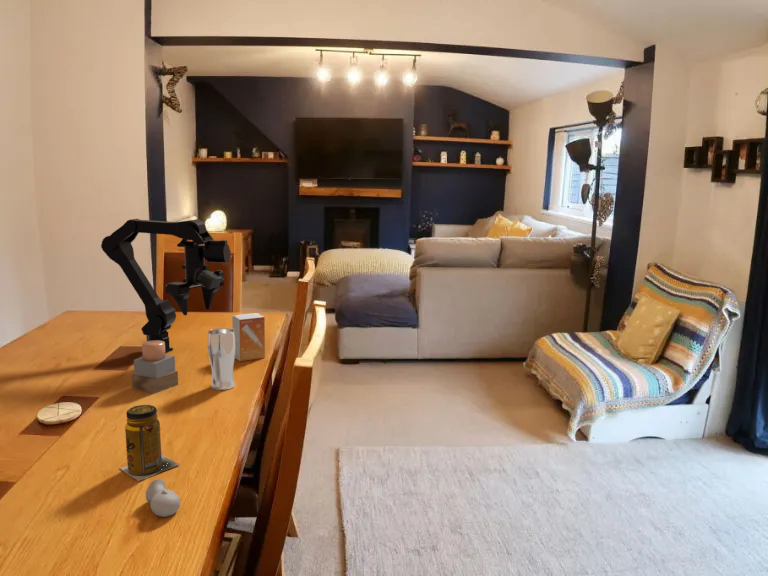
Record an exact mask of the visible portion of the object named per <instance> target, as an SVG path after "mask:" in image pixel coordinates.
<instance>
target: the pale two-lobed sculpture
mask: <svg viewBox="0 0 768 576" xmlns="http://www.w3.org/2000/svg"><path fill="white" fill-rule="evenodd" d="M145 499H146V500H145V501H146V502H148V503H149V505H150V506H149V507H150V510H151V511H152V513H153V514H154V515H156V516H158V517H162V518H166V517H169V516H170V517H171V516H172V515H174V514H175V513H176V512H177V511H178V510H179V509H180V506H181V499H180V496H179V495H178V494H177V493H176V492H175V491H173V490H172V489H168V488H166V483H165V481H164V480H163V479H161V478H156V479H153V480H152V481H151V482H150V483H149V485H148V487H147V489H146V491H145Z"/></svg>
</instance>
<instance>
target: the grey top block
mask: <svg viewBox="0 0 768 576" xmlns="http://www.w3.org/2000/svg"><path fill="white" fill-rule="evenodd" d="M165 356H166V358H165V359H163V360H160V361H144V360H143V356H140V357H139V358H136V359H133V369H134V370H133V371H134V372H133V373H135V375H138V376H144V377H149V378H155V379H157V378H159V377H162V376H164V375H166V374H168V373H171V372H173V371H176V360H175V355H171V354H165Z"/></svg>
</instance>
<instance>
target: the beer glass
mask: <svg viewBox="0 0 768 576" xmlns="http://www.w3.org/2000/svg"><path fill="white" fill-rule="evenodd" d="M207 333H208V334H207V353H208V359H209V363H210V364H209V365H210V368H211V382H210V388H211V389H212V390H215V391H227V390H230V389H233V388H235V386H236V383H235V382H236V381H235V378H234V365H235V360H236V358H235V352H236V344H235V334H234V330H233V328H230V327H229V328H228V327H220V328H219V327H218V328H212V329H209V331H208V332H207Z"/></svg>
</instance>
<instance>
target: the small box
mask: <svg viewBox="0 0 768 576" xmlns="http://www.w3.org/2000/svg"><path fill="white" fill-rule="evenodd" d="M231 318H232V319H231V321H232V329H233V330H234V334H235V344H236V352H235V360H237V361H239V362H245V361H251V360H258V359H260V360H261V359H264V358H265V357H266V347H265V346H266V342H265V341H266V333H265V332H266V330H265V329H266V328H265V327H266V325H265V324H266V323H265V322H266V321H265V320H266V319H265V316H264V315H262V314H260V313H258V312H253V313H243V314H236V315H232V316H231Z"/></svg>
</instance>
